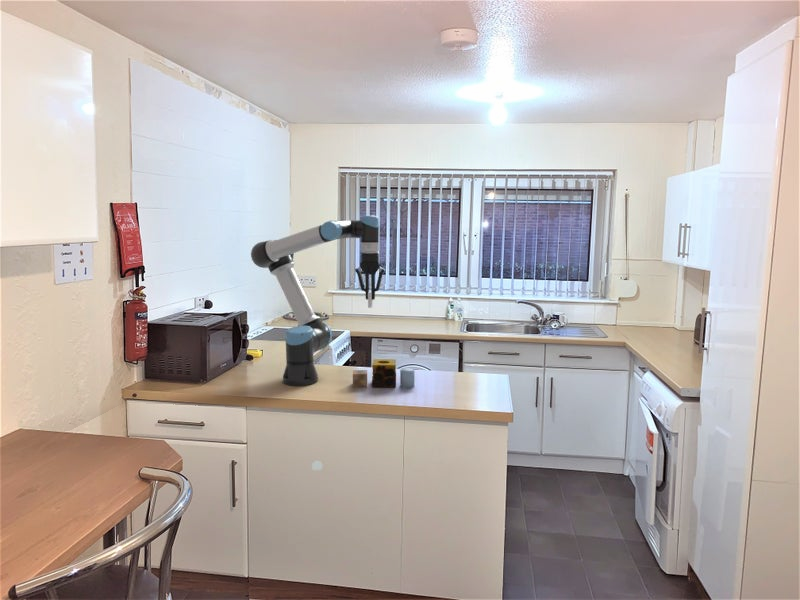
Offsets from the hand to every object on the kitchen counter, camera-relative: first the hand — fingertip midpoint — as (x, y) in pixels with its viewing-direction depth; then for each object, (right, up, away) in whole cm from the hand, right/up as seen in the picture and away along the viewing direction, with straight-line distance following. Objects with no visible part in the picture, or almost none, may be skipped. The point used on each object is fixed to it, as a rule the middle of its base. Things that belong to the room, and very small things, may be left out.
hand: (370, 307), depth 257 cm
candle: (+6, -33, -2) cm, 34 cm away
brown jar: (-4, -33, -3) cm, 34 cm away
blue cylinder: (+16, -33, -4) cm, 37 cm away
